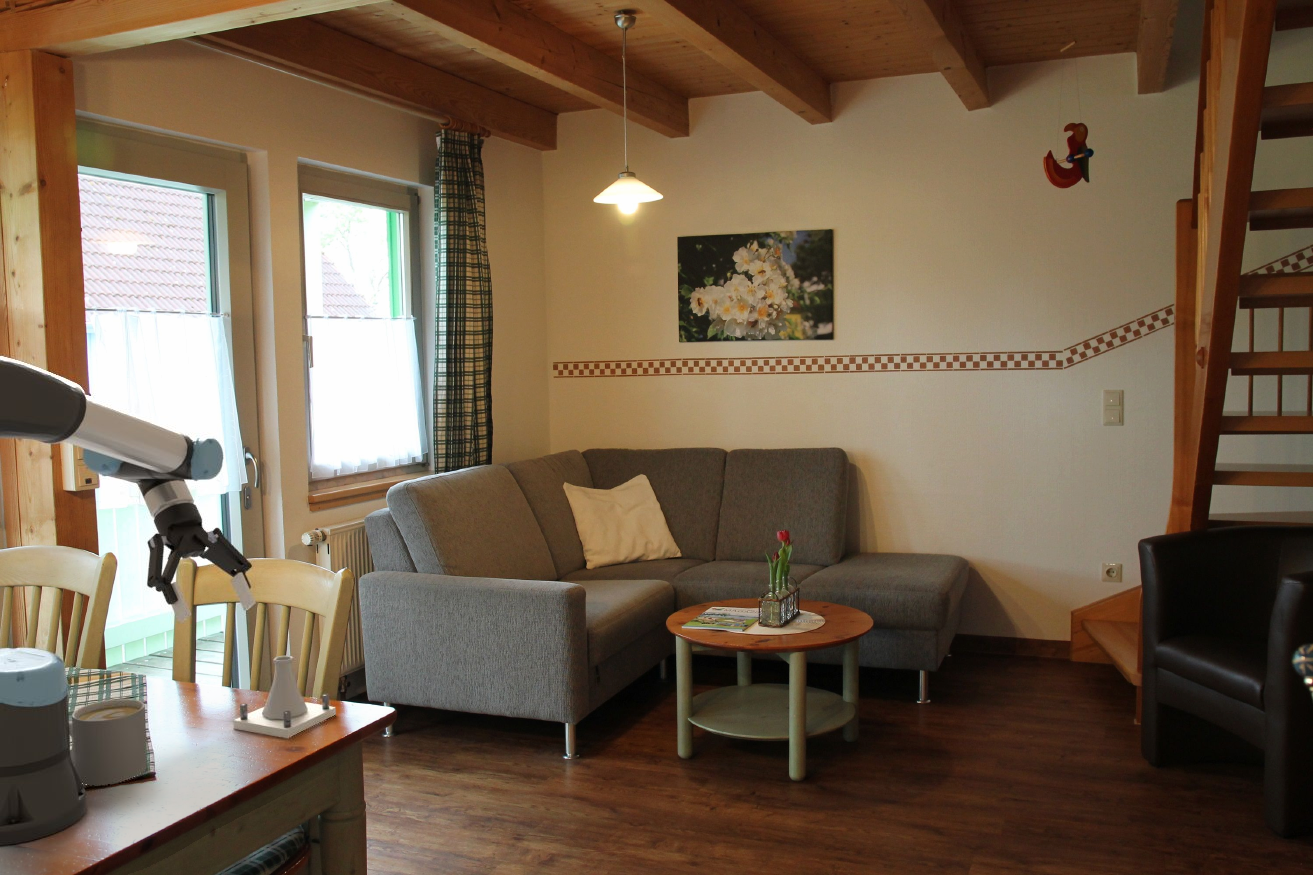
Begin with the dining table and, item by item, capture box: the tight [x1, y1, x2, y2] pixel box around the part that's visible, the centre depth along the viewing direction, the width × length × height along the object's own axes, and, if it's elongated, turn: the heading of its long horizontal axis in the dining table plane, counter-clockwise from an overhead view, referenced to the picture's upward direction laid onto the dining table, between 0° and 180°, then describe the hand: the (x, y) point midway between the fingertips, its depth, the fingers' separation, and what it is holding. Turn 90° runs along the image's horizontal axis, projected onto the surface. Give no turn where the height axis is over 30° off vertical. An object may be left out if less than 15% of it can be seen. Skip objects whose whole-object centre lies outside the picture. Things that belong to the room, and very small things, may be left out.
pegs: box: [239, 693, 330, 728], centre depth 179 cm, size 11×11×2 cm
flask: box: [262, 655, 308, 719], centre depth 179 cm, size 7×7×10 cm
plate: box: [233, 701, 337, 739], centre depth 179 cm, size 12×12×2 cm
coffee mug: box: [69, 698, 148, 787], centre depth 157 cm, size 13×10×10 cm
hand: (218, 612), depth 181 cm, fingers open, 13 cm apart
